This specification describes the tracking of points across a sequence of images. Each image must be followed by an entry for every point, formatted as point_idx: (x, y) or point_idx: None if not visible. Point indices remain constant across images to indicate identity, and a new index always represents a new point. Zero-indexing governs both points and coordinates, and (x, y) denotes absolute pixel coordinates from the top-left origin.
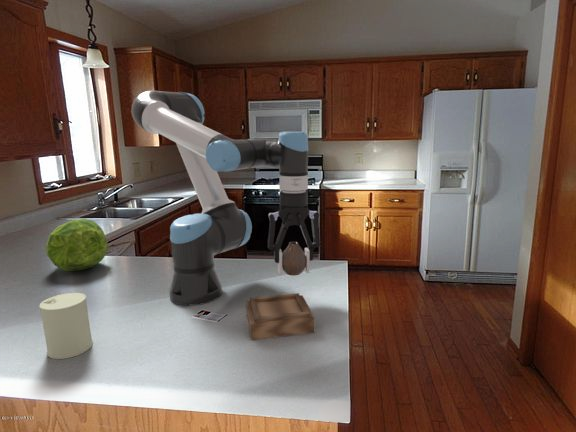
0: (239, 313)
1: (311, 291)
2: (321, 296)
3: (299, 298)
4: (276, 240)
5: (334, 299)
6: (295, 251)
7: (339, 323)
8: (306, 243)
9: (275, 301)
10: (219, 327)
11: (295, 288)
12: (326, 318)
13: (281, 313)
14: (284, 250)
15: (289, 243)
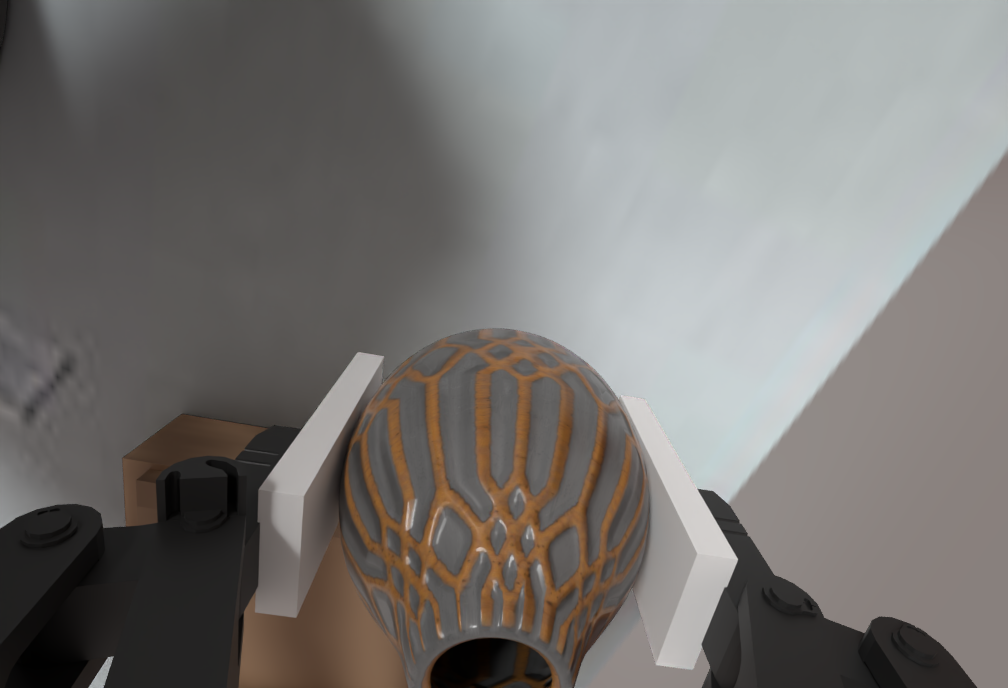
0: (143, 377)
1: (664, 253)
2: (680, 355)
3: None
4: (123, 649)
5: (725, 424)
6: (477, 683)
7: (594, 643)
8: (747, 636)
9: None
10: (38, 482)
11: (586, 149)
12: None
13: (304, 663)
14: (365, 519)
15: (409, 679)
